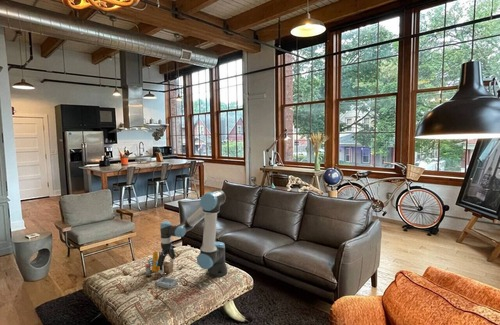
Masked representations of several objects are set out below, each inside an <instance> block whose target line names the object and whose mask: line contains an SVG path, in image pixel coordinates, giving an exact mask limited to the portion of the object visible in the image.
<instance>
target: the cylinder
mask: <svg viewBox="0 0 500 325" xmlns="http://www.w3.org/2000/svg"><path fill="white" fill-rule="evenodd" d="M158 259H159V250H153V251H152V258H149V259H148V260H147V264H151V266H150V268H151V271H152V272H153V271H154V272H153V273H155V272H156V271H157V272H160V266H157V264H158ZM157 272H156V273H157Z"/></svg>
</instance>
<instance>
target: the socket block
mask: <svg viewBox="0 0 500 325" xmlns="http://www.w3.org/2000/svg"><path fill="white" fill-rule="evenodd" d="M154 278H155V274H152V273H151V277H150V278H146V274H145V275H144V276H142V277H141V279H142V280H141V281H142V282H147V283H150V282H152V281H153V280H154Z"/></svg>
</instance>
